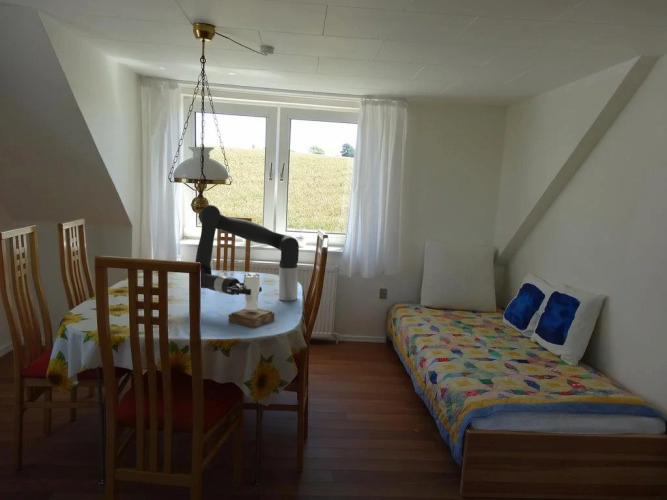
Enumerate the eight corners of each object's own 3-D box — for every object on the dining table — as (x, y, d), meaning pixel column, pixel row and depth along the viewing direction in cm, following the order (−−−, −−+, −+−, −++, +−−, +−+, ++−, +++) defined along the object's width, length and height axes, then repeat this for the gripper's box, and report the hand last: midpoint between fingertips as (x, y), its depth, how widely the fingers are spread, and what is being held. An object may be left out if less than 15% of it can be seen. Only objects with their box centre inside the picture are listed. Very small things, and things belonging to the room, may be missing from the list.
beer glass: (240, 308, 195) (240, 274, 192) (253, 305, 200) (254, 272, 197) (249, 311, 190) (249, 277, 188) (262, 309, 195) (263, 275, 192)
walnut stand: (249, 314, 205) (249, 306, 204) (274, 319, 198) (274, 311, 198) (228, 322, 193) (228, 313, 192) (253, 328, 186) (254, 318, 186)
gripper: (215, 279, 194) (244, 285, 186) (237, 274, 206) (266, 279, 198) (215, 296, 195) (244, 303, 187) (237, 290, 207) (266, 296, 199)
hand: (255, 291), depth 192 cm, fingers closed on beer glass, 6 cm apart
